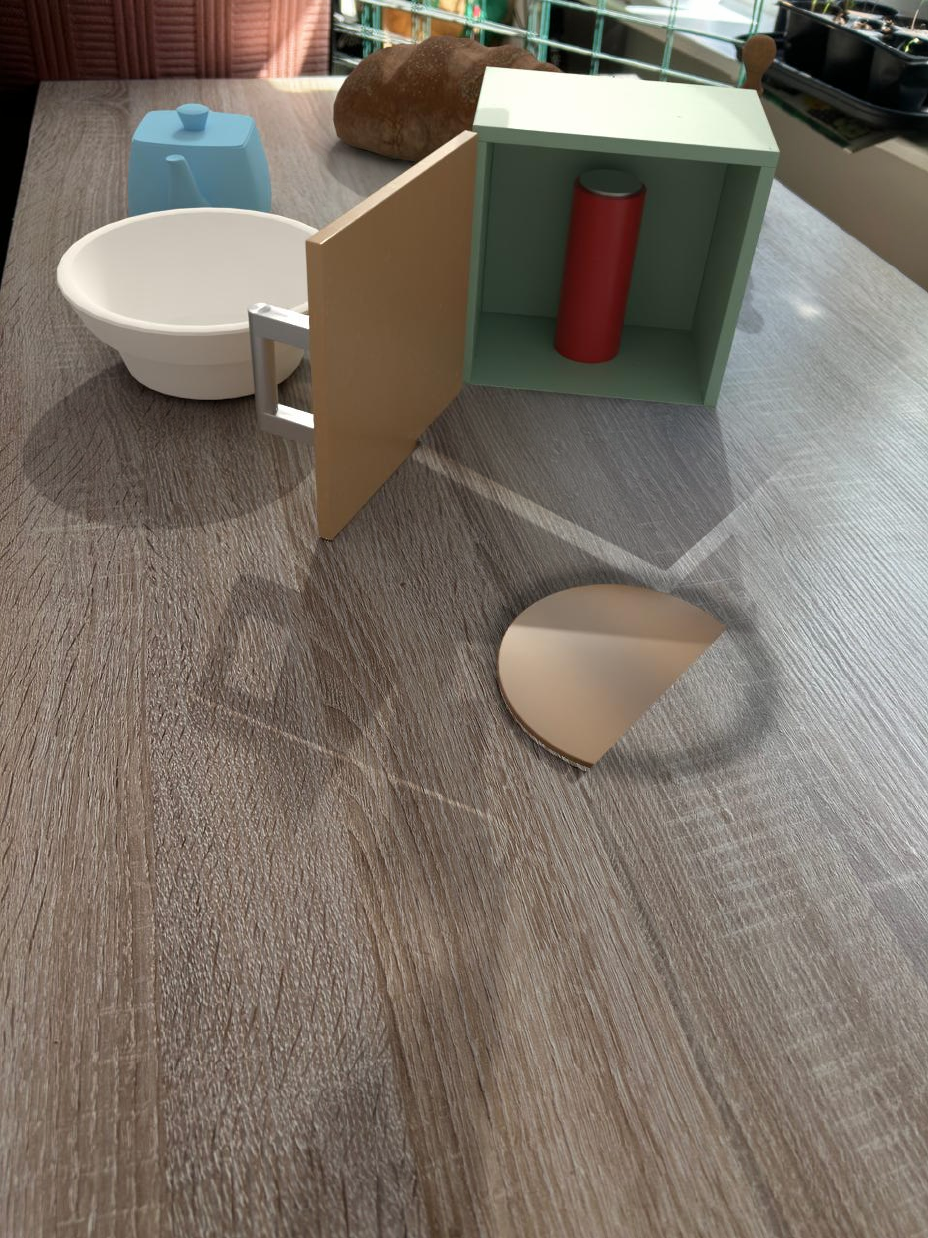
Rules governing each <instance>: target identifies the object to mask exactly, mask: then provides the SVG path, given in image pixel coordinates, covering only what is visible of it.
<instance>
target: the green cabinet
mask: <svg viewBox="0 0 928 1238" xmlns="http://www.w3.org/2000/svg"><path fill="white" fill-rule="evenodd" d="M472 132H475V133H478V144H477V160H476V176H475V191H474V207H473V223H472V238H471V254H470V269H469V285H468V301H467V316H466V332H465V348H464V363H463V379H462V385H463V384H464V385H475V386H486V387H494V388H495V387H496V388H506V389H517V390H528V391H539V392H549V393H558V394H559V393H561V394H570V395H581V396H592V397H603V398H614V399H622V400H623V399H624V400H634V401H635V400H636V401H643V402H644V401H646V402H656V403H666V404H677V405H678V404H679V405H687V406H698V407H699V406H700V407H710V408H716V407H717V405H718V400H719V396H720V393H721V388H722V385H723V380H724V377H725V373H726V369H727V365H728V360H729V358H730V353H731V349H732V345H733V341H734V337H735V333H736V329H737V325H738V322H739V317H740V313H741V309H742V306H743V302H744V298H745V293H746V290H747V285H748V281H749V278H750V275H751V274H750V273H751V269H752V267H753V266H752V264H753V261H754V258H755V255H756V250H757V246H758V242H759V237H760V234H761V230H762V227H763V222H764V218H765V214H766V210H767V206H768V202H769V197H770V195H771V191H772V188H773V183H774V179H775V175H776V171H777V166H778V163H779V158H780V156H781V151H780V148H779V146H778V143H777V140H776V138H775V135H774V133H773V130H772V128H771V125H770V122H769V120H768V117H767V114H766V111H765V109H764V107H763V104H762V102H761V98H760V99H759V96H758V94H757V91H756V90H750V89H739V87H737V88H736V87H725V86H715V85H714V86H713V85H704V84H703V85H702V84H690V83H679V82H670V81H669V82H667V81H659V80H658V81H657V80H647V79H633V78H622V77H615V78H613V76H612V77H610V76H600V75H588V74H577V73H566V72H564V73H555V72H544V71H532V70H521V69H509V68H498V67H486V69H485V74H484V78H483V82H482V87H481V91H480V96H479V100H478V105H477V109H476V114H475V118H474V122H473V130H472ZM592 170H616V171H621V172H625V173H628V174H631V175H633V176H635V177H637V178H638V179H639V180H640V181H641V182H642V183H643V184H644V185H645V186H646V188H647V193H646V198H645V204H644V210H643V216H642V221H641V227H640V233H639V239H638V244H637V250H636V256H635V262H634V267H633V273H632V279H631V285H630V291H629V296H628V302H627V308H626V314H625V319H624V325H623V331H622V337H621V342H620V348H619V353H618V354H617V356H616V357H615V358H613V359H612V360H609V361H606V362H602V363H582V362H577V361H573V360H570V359H568V358H566V357H564V356H562V355H561V354H559V353H558V352H557V351H556V349H555V347H554V336H555V328H556V320H557V312H558V304H559V296H560V288H561V280H562V273H563V265H564V257H565V249H566V241H567V233H568V225H569V217H570V209H571V201H572V193H573V186H574V181H575V179H576V178H577V177H578V176H580V175H582V174H584V173H585V172H588V171H592Z"/></svg>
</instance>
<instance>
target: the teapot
mask: <svg viewBox="0 0 928 1238" xmlns="http://www.w3.org/2000/svg"><path fill="white" fill-rule="evenodd" d="M266 155H267V154H266V153H265V148H264V144H263V141H262V138H261V135H260V132H259V129H258V126H257V124H256V121H255V119H254V118H253V117H252V116H250V115H246V114H239V113H230V112H219V111H217V112H216V111H213V110H211V109H210V108H209V107H207V105H204V104H199V103H185V104H182V105H179V106H178V107H176V109H175V110H174V109H173V110H170V109H167V110H166V109H165V110H164V109H163V110H151V111H148V112H147V113H146V115H145V116H144V117H143V118H142V119H141V121H140V123H139V124H138V125H137V128H136V130H135V131H134V133H133V135H132V138H131V144H130V152H129V160H128V171H127V203H128V213H129V218H130V217H134V216H139V215H143V214H148V213H152V212H159V211H167V210H174V209H186V208H233V209H243V210H253V211H259V212H264V213H269V214H271V213H270V212H271V207H272V196H273V195H272V193H273V192H272V182H271V174H270V170H269V164H268V159H267V156H266Z"/></svg>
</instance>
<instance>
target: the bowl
mask: <svg viewBox="0 0 928 1238" xmlns="http://www.w3.org/2000/svg"><path fill="white" fill-rule="evenodd" d="M319 231H320V230H318V229H317V228H314V227H313V226H310V225H308V224H305V223H303V222H301V221H299V220H295V219H292V218H288V217H286V216H283V215H282V216H281V215H279V214H275V213H264V212H259V211H253V210H243V209H233V208H186V209H174V210H167V211H159V212H152V213H148V214H143V215H139V216H134V217H130V216H129V217H126V218H124V219H120V220H118V221H114V222H111V223H108V224H106V225H104V226H102V227H99V228H97V229H95V230H92V231H91V232H88V233H87V234H86V235H84V236H83V237H81V238H79V239H78V240H77V241H75V242H74V243H73V244H71V246H70V247H69V248H68V249H67V250H66V251H65V253H63V255H62V256H61V259H60V260H59V263H58V265H57V268H56V284H57V286H58V289H59V290H60V293H61V294H62V296H63V298H65V300H66V301H67V303H68V304H69V305H70V307H71V308H72V309H73V311H74V312H75V313H76V315H77V316H78V318H79V319H80V320H81V321H82V323H83V324H84V325H85V326H86V328H87V329H88V331H89V332H91V333H92V334H93V335H94V336H95V337H96V338H97V339H98V340H99V341H101V342H102V343H104V344H106V345H107V346H109V347H111V348H112V349H115V350H116V351H118V354H119V356H120V357H121V359H122V360H123V363H124V365H125V366H126V369H127V370H128V372H129V374H130V375H131V376H132V377H133V378H134V379H135V380H136V381H137V382H138V383H140V384H142V385H143V386H145V387H146V388H148V389H150V390H153V391H155V392H158V393H161V394H163V395H167V396H172V397H176V398H181V399H191V400H205V401H206V400H207V401H208V400H211V401H212V400H213V401H214V400H217V401H218V400H226V399H236V398H241V397H245V396H251V395H255V390H254V378H253V367H252V355H251V344H250V332H249V321H248V307H249V306H250V305H252V304H256V303H264V304H268V305H271V306H275V307H278V308H282V309H285V310H289V311H293V312H296V313H300V314H303V315H307V316H309V313H308V291H307V269H306V247H305V241H306V240H307V239H308V238H310V237H311V236H313V235H314V234H316V233H317V232H319ZM274 345H275V360H276V374H277V385H279V384H281V383H282V382H284V381H285V380H287V379H288V378H290V377H291V376H292V374H293V373H294V371H295V370H297V368H298V367H299V366H300V364H301V362H302V359H303V357H304V354H305V351H306V350H304V349H301V348H298V347H294V346H291V345H287V344H284V343H281V342H277V341H274Z"/></svg>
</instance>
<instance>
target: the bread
mask: <svg viewBox="0 0 928 1238" xmlns="http://www.w3.org/2000/svg"><path fill="white" fill-rule="evenodd" d="M486 67H498V68H509V69H521V70H532V71H544V72H555V73H565V72H564V71H563V70H562V69H560V68H559V67H558V66H556V65H554V64H553V63H550V62H547V61H539V60H538V58H537V56H535V54H534V53H533V52H532V51H530V50H528V49H525V48H522V47H519V46H516V45H512V44H509V43H508V44H503V45H500V46H489V47H488V46H486V45H484V44H482V43H480V42H479V41H477V40H476V39H474V38H472V37H455V36H454V35H431V36H429V37H427V38H426V39H424V40H423V41H421V42H419V43H417V44H416V43H415V44H413V43H405V44H404V43H399V44H395V45H392V46H386V47H383V48H381V49H379V50H376V51H373V52H371V53H370V54H368V55H367V56H365V57H364V58H363V59H362V60H360V61H359V63H357V64H356V66H355V68H354V69H353V70H351V72H350V73H349V74H348V76H347V77H346V78H345V79H344V81H343V83H342V84H341V86H340V88H339V89H338V91H337V93H336V96H335V99H334V102H333V107H332V108H333V110H332V111H333V112H332V119H333V126H334V130H335V133H336V137H338V139H339V140H340V141H341V142H343V143H345V144H347V145H348V146H351V147H355V148H358V149H362V150H366V151H369V152H372V153H375V154H379V155H382V156H385V157H388V158H391V159H392V158H393V159H397V160H403V161H409V162H415V163H416V162H417V163H418V162H420V161H421V160H423V159H424V158H426V157H427V156H429V155H430V154H431V153H433V152H434V151H436V150H437V149H439V148H440V147H442V146H443V145H444V144H446V143H447V142H449V141H450V140H452V139H453V138H455V137H456V136H458V135H459V134H460V133H462V132H463V131H465V130H466V131H470V132H472V130H473V122H474V118H475V114H476V109H477V105H478V100H479V96H480V91H481V87H482V82H483V78H484V74H485V69H486Z"/></svg>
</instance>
